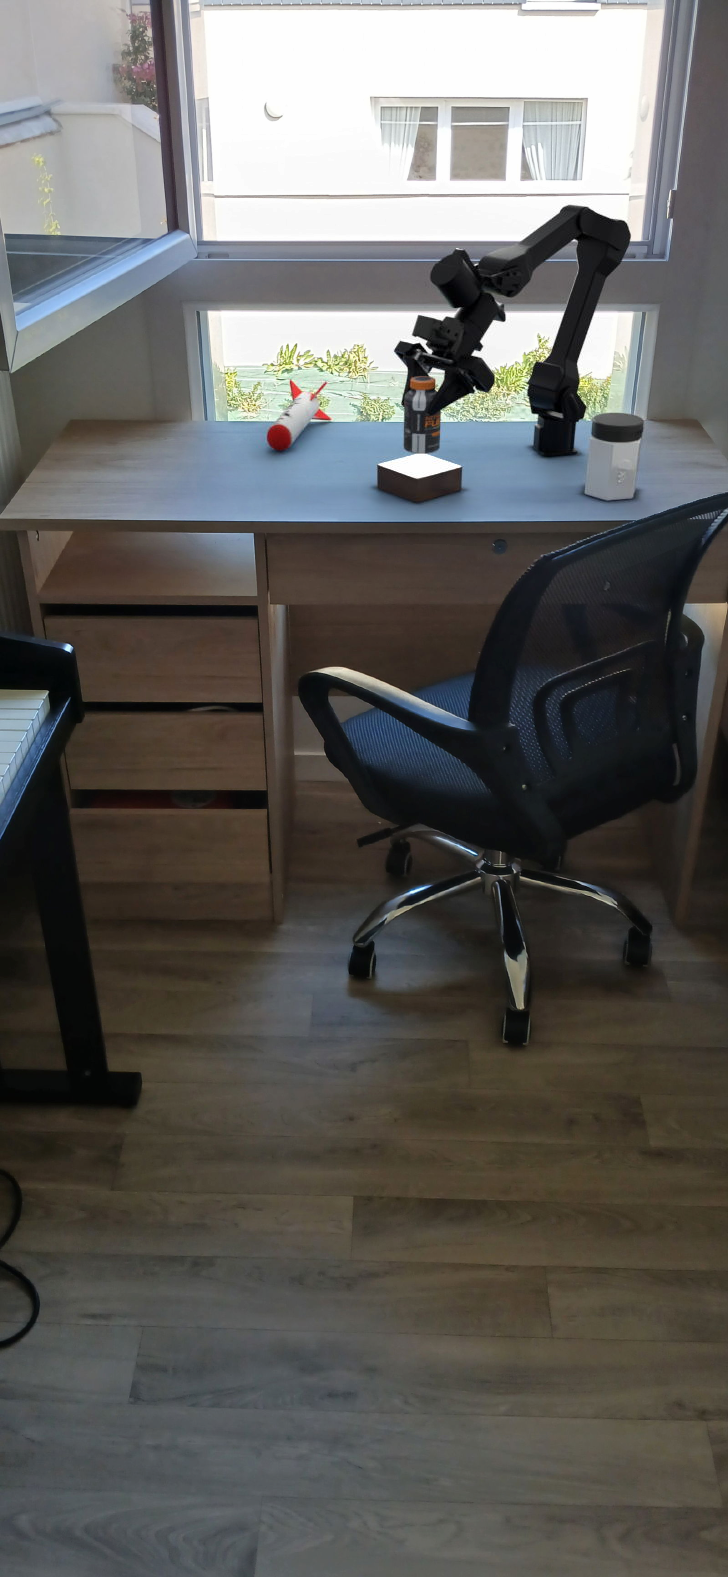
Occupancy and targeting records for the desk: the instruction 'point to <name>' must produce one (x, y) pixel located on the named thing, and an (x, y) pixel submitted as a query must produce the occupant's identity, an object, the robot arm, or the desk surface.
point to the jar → (614, 456)
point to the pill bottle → (421, 417)
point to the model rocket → (295, 418)
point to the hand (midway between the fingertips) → (415, 409)
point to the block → (419, 477)
